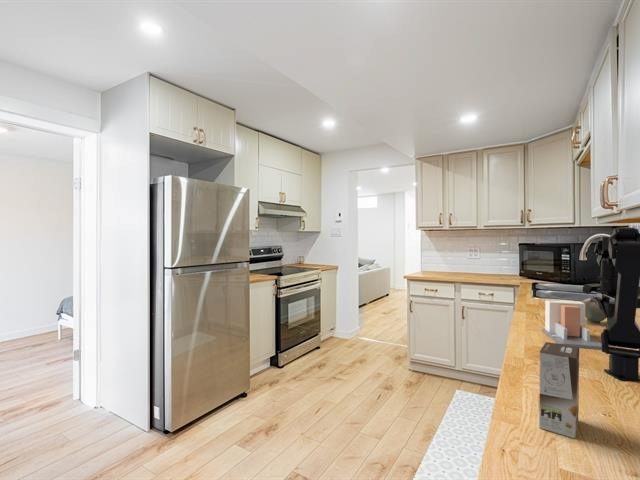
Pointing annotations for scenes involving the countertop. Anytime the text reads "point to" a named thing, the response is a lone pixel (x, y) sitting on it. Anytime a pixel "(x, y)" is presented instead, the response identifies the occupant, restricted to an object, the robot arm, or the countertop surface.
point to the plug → (571, 319)
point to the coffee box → (559, 388)
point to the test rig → (560, 332)
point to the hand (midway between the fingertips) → (610, 320)
